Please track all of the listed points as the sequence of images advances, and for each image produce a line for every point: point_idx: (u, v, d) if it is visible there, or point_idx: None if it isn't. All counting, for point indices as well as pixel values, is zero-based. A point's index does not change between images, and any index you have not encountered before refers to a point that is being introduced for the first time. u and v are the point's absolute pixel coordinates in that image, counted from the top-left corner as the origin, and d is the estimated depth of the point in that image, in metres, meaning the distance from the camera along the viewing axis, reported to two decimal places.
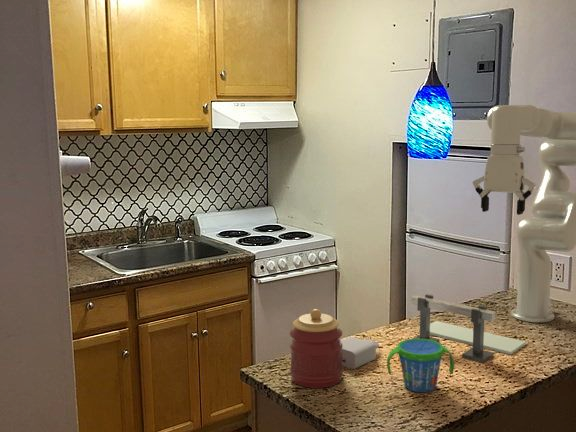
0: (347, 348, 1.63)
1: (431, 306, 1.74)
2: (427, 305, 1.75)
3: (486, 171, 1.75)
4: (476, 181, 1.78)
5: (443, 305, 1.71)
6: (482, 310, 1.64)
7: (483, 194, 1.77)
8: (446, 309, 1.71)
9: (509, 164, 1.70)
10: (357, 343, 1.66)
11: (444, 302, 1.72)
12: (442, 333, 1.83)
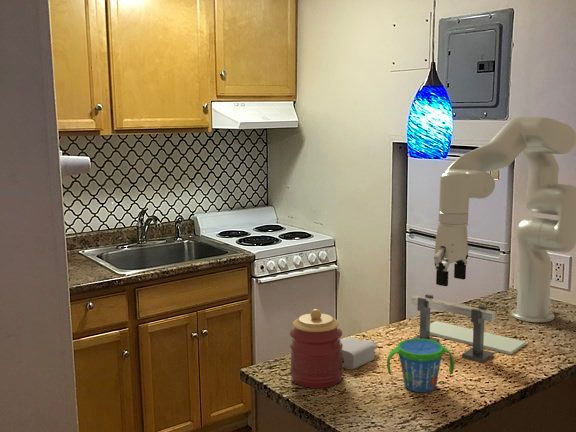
0: (345, 349, 1.62)
1: (431, 306, 1.74)
2: (427, 305, 1.75)
3: (452, 243, 1.63)
4: (440, 256, 1.62)
5: (443, 305, 1.71)
6: (482, 310, 1.64)
7: (446, 268, 1.64)
8: (446, 309, 1.71)
9: (465, 231, 1.67)
10: (356, 344, 1.66)
11: (444, 302, 1.72)
12: (442, 333, 1.83)
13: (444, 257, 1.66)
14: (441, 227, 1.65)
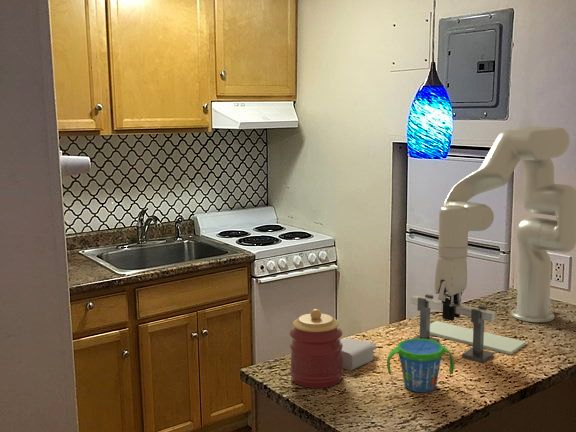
0: (344, 349, 1.62)
1: (431, 306, 1.74)
2: (427, 305, 1.75)
3: (451, 276, 1.65)
4: (443, 295, 1.66)
5: None
6: (482, 310, 1.64)
7: (452, 302, 1.68)
8: None
9: (464, 264, 1.69)
10: (355, 344, 1.65)
11: None
12: (442, 333, 1.83)
13: None
14: (441, 261, 1.66)
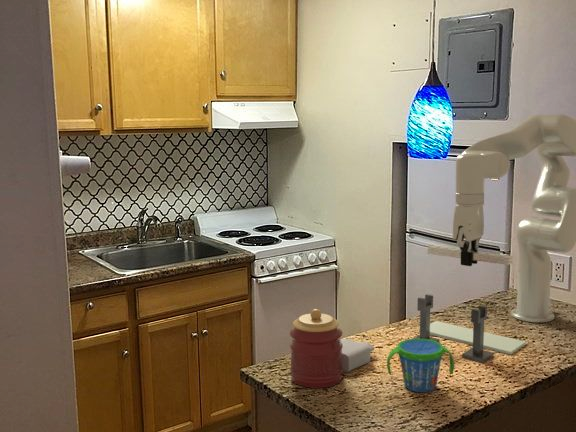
0: None
1: (448, 254, 1.78)
2: (444, 254, 1.79)
3: (469, 222, 1.69)
4: (462, 241, 1.70)
5: (460, 253, 1.76)
6: (499, 255, 1.69)
7: (470, 248, 1.73)
8: None
9: (481, 211, 1.73)
10: (352, 346, 1.64)
11: None
12: (442, 333, 1.83)
13: None
14: (458, 207, 1.70)
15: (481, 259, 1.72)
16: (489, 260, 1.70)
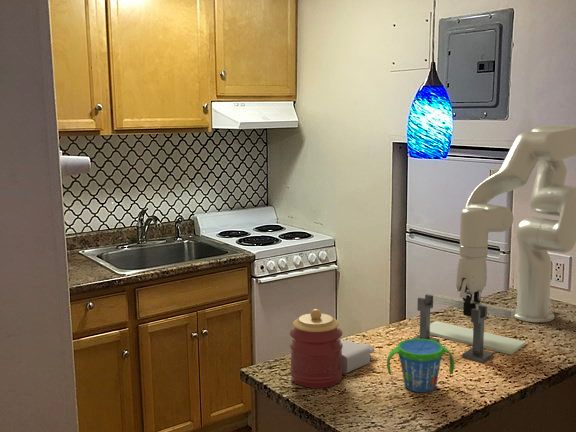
0: None
1: (452, 304, 1.83)
2: (448, 303, 1.84)
3: (472, 275, 1.74)
4: (465, 293, 1.75)
5: None
6: (502, 308, 1.73)
7: (473, 299, 1.77)
8: None
9: (484, 263, 1.78)
10: (351, 347, 1.64)
11: None
12: (442, 333, 1.83)
13: (467, 288, 1.78)
14: (462, 260, 1.75)
15: None
16: (492, 312, 1.75)
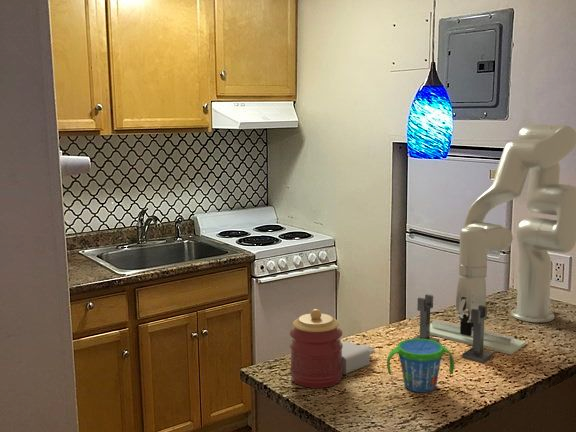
0: None
1: (452, 330, 1.84)
2: (448, 329, 1.85)
3: (472, 294, 1.75)
4: (462, 310, 1.75)
5: None
6: (501, 335, 1.75)
7: (470, 319, 1.77)
8: None
9: (483, 282, 1.79)
10: (351, 348, 1.63)
11: None
12: (442, 333, 1.83)
13: (466, 307, 1.78)
14: (462, 279, 1.76)
15: (484, 338, 1.77)
16: (492, 339, 1.76)
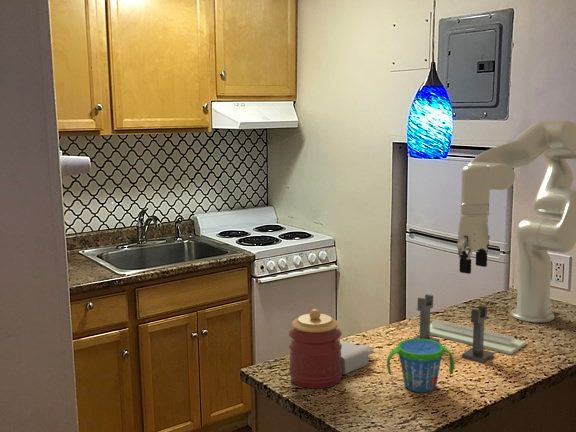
0: None
1: (452, 330, 1.84)
2: (448, 329, 1.85)
3: (474, 232, 1.72)
4: (463, 245, 1.71)
5: (463, 330, 1.81)
6: (501, 335, 1.75)
7: (469, 256, 1.73)
8: (466, 333, 1.81)
9: (486, 221, 1.76)
10: (350, 348, 1.63)
11: (464, 326, 1.83)
12: (442, 333, 1.83)
13: (467, 246, 1.75)
14: (464, 218, 1.73)
15: (484, 338, 1.77)
16: (492, 339, 1.76)
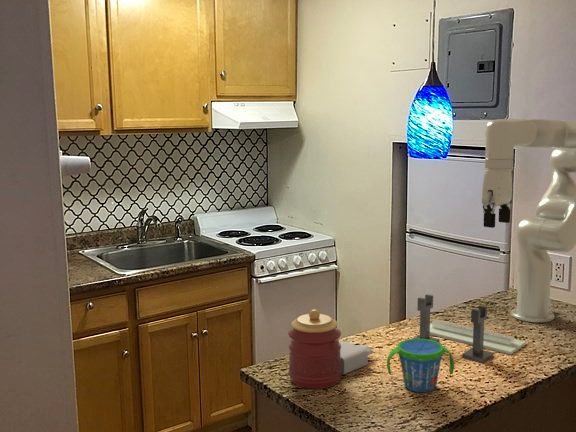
0: None
1: (452, 330, 1.84)
2: (448, 329, 1.85)
3: (498, 186, 1.74)
4: (488, 198, 1.73)
5: (463, 330, 1.81)
6: (501, 335, 1.75)
7: (494, 210, 1.75)
8: (466, 333, 1.81)
9: (510, 177, 1.78)
10: (349, 348, 1.63)
11: (464, 326, 1.83)
12: (442, 333, 1.83)
13: (491, 201, 1.77)
14: (488, 172, 1.75)
15: (484, 338, 1.77)
16: (492, 339, 1.76)
